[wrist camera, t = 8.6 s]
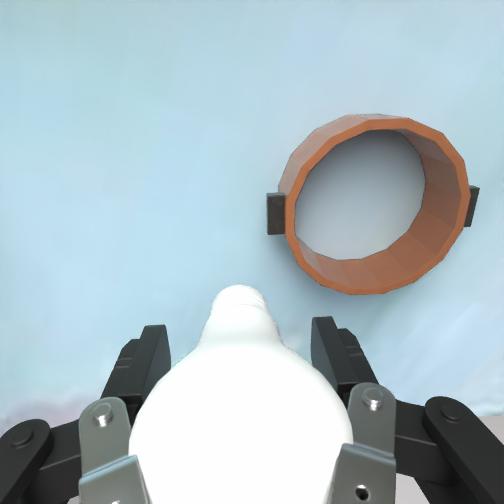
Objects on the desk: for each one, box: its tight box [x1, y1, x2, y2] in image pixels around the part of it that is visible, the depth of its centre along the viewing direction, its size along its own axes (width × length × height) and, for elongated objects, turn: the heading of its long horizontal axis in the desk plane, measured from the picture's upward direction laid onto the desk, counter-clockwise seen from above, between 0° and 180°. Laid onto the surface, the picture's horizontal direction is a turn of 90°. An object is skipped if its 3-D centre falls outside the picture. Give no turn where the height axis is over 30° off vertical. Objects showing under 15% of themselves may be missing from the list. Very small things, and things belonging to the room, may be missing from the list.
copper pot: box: [266, 114, 480, 295], centre depth 29 cm, size 16×14×6 cm
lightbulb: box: [128, 285, 353, 504], centre depth 12 cm, size 6×6×11 cm
